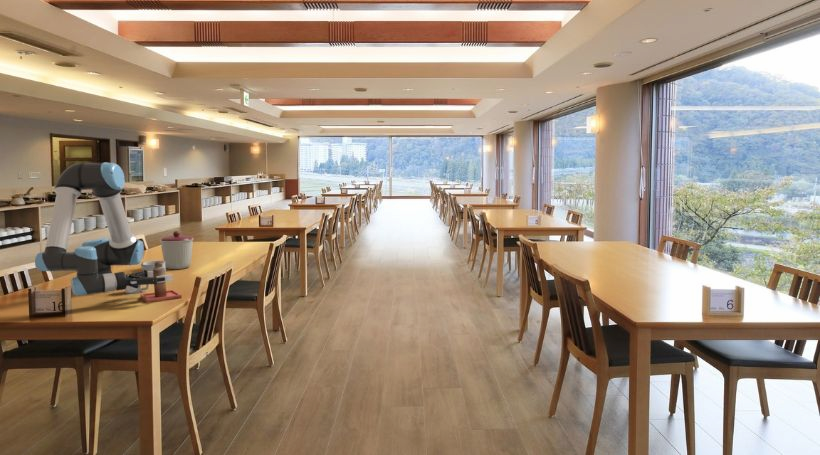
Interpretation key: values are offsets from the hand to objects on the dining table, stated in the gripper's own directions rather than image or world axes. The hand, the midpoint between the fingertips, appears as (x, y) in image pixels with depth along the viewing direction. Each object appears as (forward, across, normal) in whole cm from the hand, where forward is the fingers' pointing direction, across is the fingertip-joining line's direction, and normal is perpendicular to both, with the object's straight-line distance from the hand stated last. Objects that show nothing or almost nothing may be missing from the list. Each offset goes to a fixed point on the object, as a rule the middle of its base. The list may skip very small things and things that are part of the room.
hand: (167, 275), depth 245 cm
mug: (-8, -19, -10) cm, 23 cm away
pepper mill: (-3, 0, -9) cm, 9 cm away
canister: (+25, -67, -10) cm, 72 cm away
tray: (-3, 0, -10) cm, 10 cm away
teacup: (+7, -50, -10) cm, 51 cm away
